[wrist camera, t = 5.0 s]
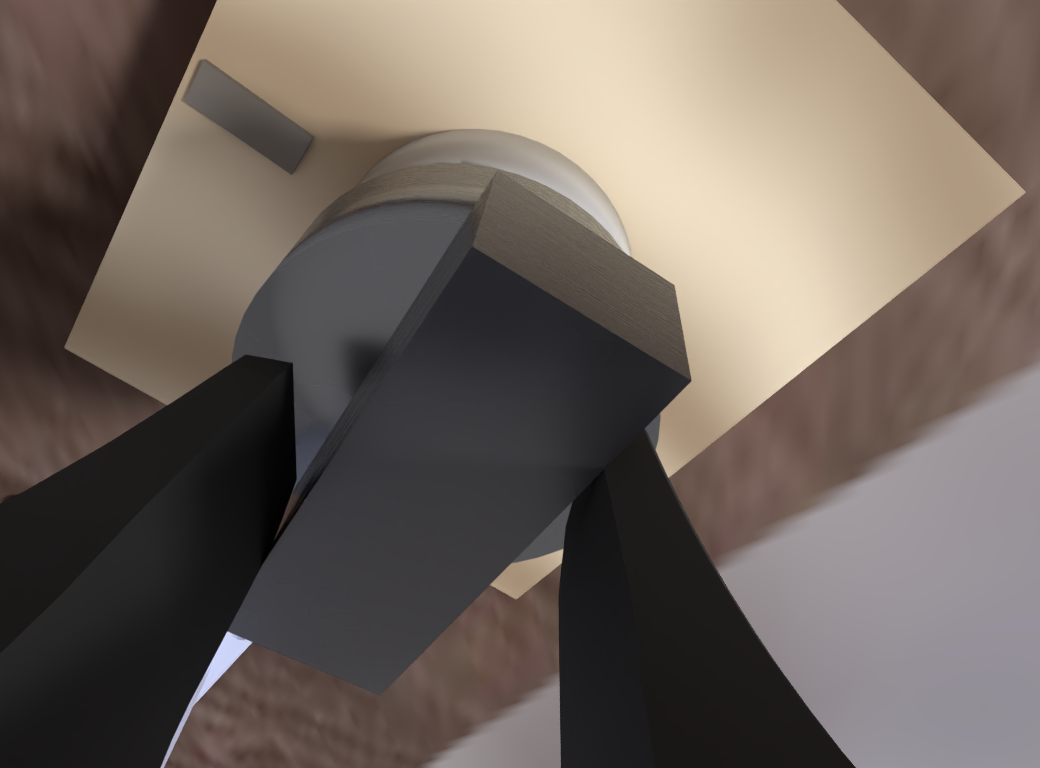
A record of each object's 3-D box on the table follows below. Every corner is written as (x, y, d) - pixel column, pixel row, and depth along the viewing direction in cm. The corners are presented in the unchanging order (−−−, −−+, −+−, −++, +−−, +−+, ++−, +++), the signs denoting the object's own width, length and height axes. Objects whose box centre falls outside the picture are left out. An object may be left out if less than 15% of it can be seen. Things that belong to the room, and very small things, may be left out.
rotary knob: (756, 282, 11) (822, 461, 8) (477, 574, 15) (444, 768, 12) (398, 39, 9) (291, 135, 6) (200, 440, 14) (76, 621, 10)
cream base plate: (522, 541, 21) (508, 668, 18) (114, 301, 17) (2, 404, 14) (975, 152, 14) (1092, 243, 10) (438, -387, 10) (362, -502, 7)
